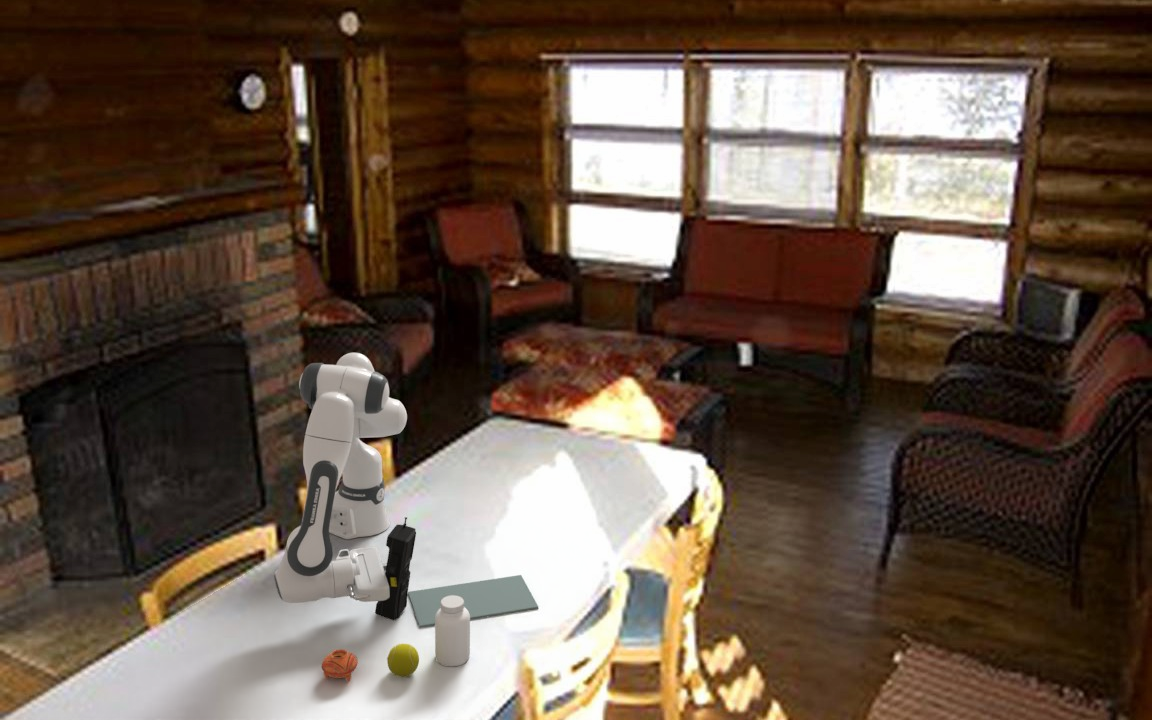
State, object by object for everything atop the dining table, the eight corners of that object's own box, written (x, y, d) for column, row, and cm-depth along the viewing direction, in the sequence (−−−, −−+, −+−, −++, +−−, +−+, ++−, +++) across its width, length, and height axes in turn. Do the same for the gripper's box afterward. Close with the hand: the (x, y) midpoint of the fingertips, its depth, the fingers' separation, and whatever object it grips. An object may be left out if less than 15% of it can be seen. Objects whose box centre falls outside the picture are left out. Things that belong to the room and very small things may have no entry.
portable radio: (395, 624, 248) (411, 536, 240) (372, 617, 249) (387, 529, 240) (407, 607, 256) (422, 521, 247) (384, 600, 256) (399, 514, 248)
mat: (419, 627, 247) (419, 625, 247) (408, 593, 262) (408, 591, 261) (538, 608, 257) (538, 606, 256) (521, 576, 271) (521, 574, 271)
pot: (327, 691, 223) (322, 662, 222) (321, 678, 230) (317, 650, 229) (363, 682, 226) (359, 652, 225) (356, 669, 233) (352, 641, 232)
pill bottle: (455, 671, 231) (455, 614, 226) (428, 660, 235) (427, 603, 230) (477, 654, 237) (476, 598, 233) (450, 643, 241) (449, 587, 237)
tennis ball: (420, 664, 234) (420, 637, 231) (417, 682, 227) (416, 656, 225) (390, 664, 233) (389, 637, 231) (385, 682, 227) (384, 655, 224)
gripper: (349, 588, 235) (409, 579, 240) (340, 546, 254) (395, 538, 258) (351, 612, 237) (410, 603, 242) (341, 568, 256) (396, 560, 260)
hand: (402, 569), depth 250 cm, fingers closed
